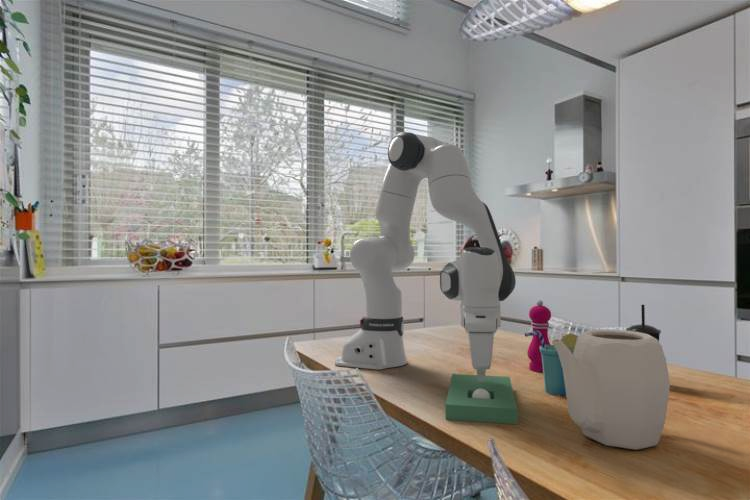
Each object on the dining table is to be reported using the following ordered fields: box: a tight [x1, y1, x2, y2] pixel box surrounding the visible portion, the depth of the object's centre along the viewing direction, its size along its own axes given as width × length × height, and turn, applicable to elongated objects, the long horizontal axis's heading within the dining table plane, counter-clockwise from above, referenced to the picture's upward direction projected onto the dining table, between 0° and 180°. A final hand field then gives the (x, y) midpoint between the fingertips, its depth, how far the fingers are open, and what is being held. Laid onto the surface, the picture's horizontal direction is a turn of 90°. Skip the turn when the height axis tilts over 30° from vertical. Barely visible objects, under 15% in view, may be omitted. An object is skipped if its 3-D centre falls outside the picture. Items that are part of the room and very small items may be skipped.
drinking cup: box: [626, 304, 662, 341], centre depth 116 cm, size 8×8×20 cm
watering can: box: [550, 328, 671, 451], centre depth 81 cm, size 16×27×19 cm, turn 111°
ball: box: [472, 389, 491, 399], centre depth 98 cm, size 4×4×4 cm
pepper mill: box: [526, 299, 552, 373], centre depth 130 cm, size 7×7×20 cm
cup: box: [524, 330, 579, 397], centre depth 109 cm, size 14×8×15 cm, turn 99°
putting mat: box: [445, 373, 519, 425], centre depth 102 cm, size 14×24×3 cm, turn 167°
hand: (481, 379), depth 102 cm, fingers closed
